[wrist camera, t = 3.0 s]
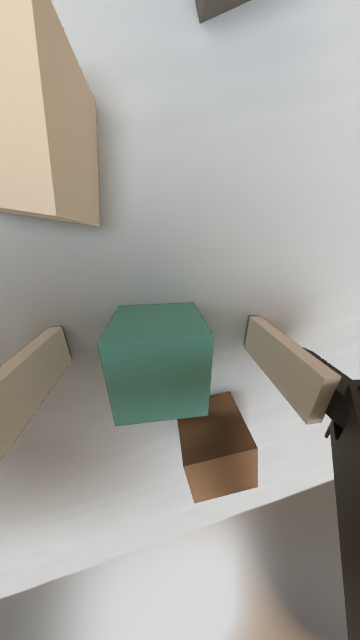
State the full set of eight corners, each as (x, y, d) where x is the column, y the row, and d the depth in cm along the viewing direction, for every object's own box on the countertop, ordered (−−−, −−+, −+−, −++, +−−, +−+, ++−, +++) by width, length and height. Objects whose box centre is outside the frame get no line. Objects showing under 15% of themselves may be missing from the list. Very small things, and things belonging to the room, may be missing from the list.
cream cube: (-2, 211, 9) (-150, 184, 5) (-33, 72, 7) (-323, -186, 3) (100, 226, 10) (56, 216, 6) (96, 105, 8) (24, -60, 4)
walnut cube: (184, 438, 18) (194, 503, 14) (175, 403, 16) (183, 466, 12) (232, 426, 19) (257, 487, 14) (229, 390, 17) (257, 448, 12)
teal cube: (128, 366, 14) (115, 426, 10) (119, 305, 12) (97, 344, 8) (191, 361, 15) (208, 415, 10) (193, 302, 13) (213, 336, 8)
